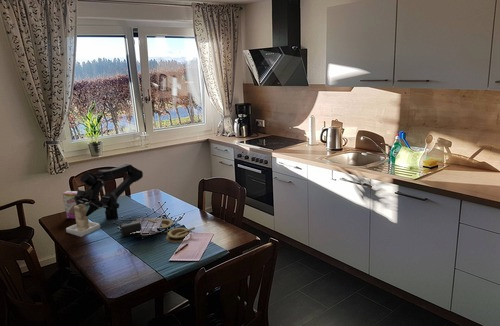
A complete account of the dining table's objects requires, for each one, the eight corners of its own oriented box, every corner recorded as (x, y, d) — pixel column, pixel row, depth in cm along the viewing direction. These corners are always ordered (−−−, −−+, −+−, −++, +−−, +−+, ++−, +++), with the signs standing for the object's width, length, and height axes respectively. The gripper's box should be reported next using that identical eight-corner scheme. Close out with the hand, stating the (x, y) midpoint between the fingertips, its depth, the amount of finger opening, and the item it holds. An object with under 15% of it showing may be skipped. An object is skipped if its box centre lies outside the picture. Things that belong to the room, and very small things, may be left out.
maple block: (84, 226, 215) (80, 203, 212) (89, 228, 213) (85, 204, 210) (77, 229, 212) (73, 206, 208) (82, 231, 210) (78, 207, 206)
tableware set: (141, 231, 211) (140, 221, 209) (172, 220, 224) (171, 211, 222) (169, 248, 190) (168, 237, 188) (201, 235, 203) (201, 225, 201)
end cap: (123, 239, 200) (121, 227, 198) (120, 234, 206) (118, 223, 204) (142, 234, 205) (140, 223, 203) (138, 230, 211) (137, 218, 209)
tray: (86, 223, 221) (85, 220, 220) (100, 228, 215) (99, 224, 214) (66, 232, 210) (65, 228, 210) (81, 236, 204) (80, 232, 204)
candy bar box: (66, 218, 229) (61, 193, 225) (71, 215, 234) (67, 190, 230) (82, 219, 227) (78, 193, 223) (87, 216, 232) (83, 191, 228)
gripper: (74, 181, 215) (59, 206, 208) (95, 185, 205) (80, 211, 199) (88, 190, 223) (74, 214, 217) (109, 195, 214) (95, 220, 208)
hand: (80, 215), depth 210 cm, fingers open, 9 cm apart
